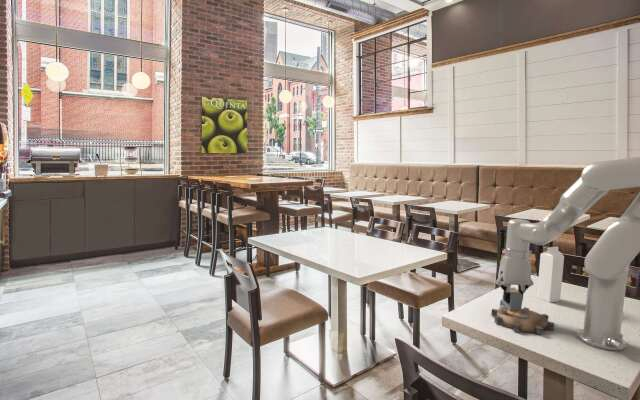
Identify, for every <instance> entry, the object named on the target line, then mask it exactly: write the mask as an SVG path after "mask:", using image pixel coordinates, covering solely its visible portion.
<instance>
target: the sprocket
mask: <svg viewBox="0 0 640 400" xmlns="http://www.w3.org/2000/svg"><path fill="white" fill-rule="evenodd" d="M490 313H491V316H493V317H494V321H493V322H494V323H495V324H497V325H504V326H506V327H508V328H510V329H512V330H513V332H517V333H519V332H520V331H522V332H527V333H528V332H529V333H536V334H537V335H544V331H546V330H551V331H554V330H555V329H554V328H555V322H552V321H549V315H548V314H546V313H545V314H544V313H542V314H541V313H539V312H536V311H533V310H531V309H529V307H523V308H522V307H521V310H518V311H510V310H509V309H508V308H507V306H505V305H500V304H499V309H496V308H492V309H491V312H490Z"/></svg>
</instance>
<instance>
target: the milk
mask: <svg viewBox="0 0 640 400" xmlns="http://www.w3.org/2000/svg"><path fill="white" fill-rule="evenodd" d="M539 256H540V258H539V268H538V269H539V271H538V282H537V294H536V298H537V299H540V300H542V301H545V302H547V303H553V302H554V303H555V302H561V296H562V294H561V293H562V286H563V285H562V283H563V273H564V265H565V264H564V263H565V262H564V261H565V255H564V254H563V253H562V252H560V250H559V246H551V247H547V250H546V251H544V252H541V253H540V255H539Z"/></svg>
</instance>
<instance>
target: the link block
mask: <svg viewBox="0 0 640 400" xmlns="http://www.w3.org/2000/svg"><path fill="white" fill-rule="evenodd" d="M509 293H510V303H506V302H505V301H504V299H503V297H502V299H501V300H502V303H503V304H504V305H505V306H507V308H508V309H509V310H510V311H518V310H521V308H522V306H523V302H524V301H523V300H524V294H523V295H522V294H521V293H520V292H519V291H518V288H516V287H510V291H509ZM503 294H504V291H503ZM503 294H502V295H503Z"/></svg>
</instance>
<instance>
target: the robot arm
mask: <svg viewBox="0 0 640 400" xmlns="http://www.w3.org/2000/svg"><path fill="white" fill-rule="evenodd" d="M632 188H640V156H635V157H628V158H619V159H613V160H612V159H611V160H603V161H594V162H590V163H589V164H587V165H586V166H585V167H584V168H583V169H582V171H581V174H580V177H579V178H578V179H577V180H575V182H573V184H572V185H570V186H569V188H567V189H566V190H565V192H563V193H562V195H561V196H560V198H559V202H558V204H557V205H556V207H555V208H554V209H553V210H552V211H551V212H550V213H549V214H548V215H547V216H546V217H545V218H544V219H543V220H541V221H539V222H534V223H533V222H530V221H529V220H527V219H521V218H513V219H512V218H511V219H509V220H508V221H507V230H506V242H505V253H504V254H505V255H502V256H501V260H500V263H499V268H498V269H499V270H498V277H497V279H496V280H495V282H494V283H495V284H496V285H497V286H499V287H500V288H501V289H502V290H503V292H504V294H502V298H503V299H504V301H505V302H506V303H510V293H509V291H510V288H512V285H513V286H517V290H518V291H519V292H520V293H521V294H522V295H523V296H524V294H525V293H526V291H527V290H528V289H529V288H530V287H532V286H533V285H534V281H533V280H532V264H531V263H532V262H531V259H530V255H532V253H533V251H532V250H530V246H531V245H530V244H534V245H536V246H544V245H547V244H549V243H551V242H553V241H555V240H557V239H558V238H560V236H561V235H563V234H564V232H566V231H567V230H568V229H569V228H570V227H571V226H572V225H573V224H574V223H576V221H577V220H578V219H580V218H581V217H582V216H583V215H584V214H585V213H587V211H589V209H590V208H591V207H593V206H594V205H595V204H596V203H597V202H598V201H599V200H600V199H601V198H602V197H604V196H605V195H606V194H607V193H608V192H609V191H610V190H622V189H632ZM639 253H640V191H639V193H638V194H637V195H636V197H634V199H633V200H632V202H631V203H630V205H629V206H628V207H627V209H626V210H625V211H624V213H623V214H621V216H620V217H618V218H617V219H615V220H613V222H611V223H610V224H609V225H608V227H607V228H606V229H605V230H604V231H603V233H602V234H601V235H600V237H599V238H598V239H597V241H596V242H595V244H593V246H592V247H591V249H590V250H589V251H588V253H587V254H586V256H585V258H584V268H585V270H586V272H587V274H588V275H589V276H588V281H587V282H588V283H587V290H586V299H585V300H586V301H585V310H584V318H583V319H584V321H583V328H582V329H579V330H578V331H577V333H576V336H577V338H578V339H579V340H580V341H581V342H583V343H584V344H585V343H586V344H588V345H589V346H591V347H595V348H598V349H599V348H600V349H603V350H609V351H621V350H625V348H627V347H628V346H629V343H628V342H627V341H625V340H623V338H624V334H623V333H622V323H623V314H624V304H625V298H626V292H627V291H626V289H627V283H628V282H627V281H628V276H629V271H630V265H631V263H632V261H633V260H634V259H635V258H636V256H638V254H639Z"/></svg>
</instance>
